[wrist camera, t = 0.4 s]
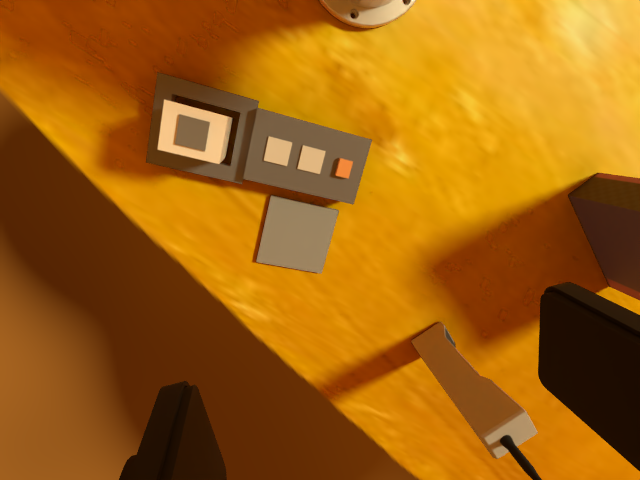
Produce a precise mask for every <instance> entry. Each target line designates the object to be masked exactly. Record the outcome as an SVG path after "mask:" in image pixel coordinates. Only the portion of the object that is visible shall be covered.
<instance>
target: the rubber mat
mask: <svg viewBox="0 0 640 480" xmlns="http://www.w3.org/2000/svg"><path fill="white" fill-rule="evenodd" d="M338 212H339V211H338V210H336V209H331V208H327V207H322V206H318V205H313V204H309V203H304V202H300V201H295V200H291V199H286V198H282V197H278V196H273V195H271V197H270V201H269V206H268V210H267V214H266V219H265V223H264V228H263V232H262V237H261V241H260V246H259V250H258V255H257V259H256V262H259V263H265V264H270V265H276V266H282V267H287V268H293V269H298V270H304V271H310V272H315V273H321V274H322V270H323V266H324V263H325V259H326V255H327V252H328V248H329V245H330V241H331V237H332V234H333V230H334V226H335V223H336V219H337V216H338Z"/></svg>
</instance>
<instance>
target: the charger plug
mask: <svg viewBox="0 0 640 480" xmlns="http://www.w3.org/2000/svg"><path fill="white" fill-rule="evenodd" d="M232 122H233V118H231V117H228V116H224V115H220V114H217V113H213V112H209V111H205V110H202V109H198V108H194V107H191V106H187V105H183V104H179V103H176V102H172V101H168V100H165V99H164V105H163V112H162V120H161V127H160V134H159V142H158V149H157V150H161V151H166V152H170V153H174V154H178V155H183V156H187V157H191V158H195V159H200V160H204V161H208V162H212V163H216V164H220V163H221V162H222V160H223V159H224V158H225V157H226V154H227V149H228V143H229V138H230V133H231V127H232Z"/></svg>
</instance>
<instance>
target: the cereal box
mask: <svg viewBox="0 0 640 480" xmlns="http://www.w3.org/2000/svg"><path fill="white" fill-rule="evenodd" d="M568 197H569V199H570V201H571V204H572V206H573V208H574V210H575V212H576V215H577V217H578V219H579V221H580V223H581V226H582V228H583V230H584V232H585V234H586V237H587V239H588V241H589V243H590V245H591V248H592V250H593V252H594V254H595V256H596V258H597V261H598V263H599V265H600V267H601V269H602V272H603V274H604V276H605V278H606V280H607V283H608V285H609V287H612V288H614V289H616V290H618V291H620V292H623V293H625V294H627V295H629V296H631V297H634V298H636V299H638V300H640V178H633V177H625V176H618V175H611V174H604V173H597V174H595V175H594V176H593V177H591V178H590V179H589V180H587V181H586V182H585V183H583V184H582V185H581V186H579V187H578V188H577V189H575V190H574V191H573V192H571V193H570V194H569V195H568Z"/></svg>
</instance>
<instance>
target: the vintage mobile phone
mask: <svg viewBox="0 0 640 480" xmlns="http://www.w3.org/2000/svg"><path fill="white" fill-rule="evenodd" d="M411 343H412V344H413V346H414V347H415V349H416V350H417V352H418V353H419V355H420V356H421V358H422V359H423V361H424V362H425V363H426V365H427V366H428V368H429V369H430V370H431V372H432V373H433V375H434V376H435V377H436V379H437V380H438V382H439V383H440V384H441V386H442V387H443V389H444V390H445V391H446V393H447V394H448V396H449V397H450V398H451V400H452V401H453V402H454V404H455V405H456V407H457V408H458V409H459V411H460V412H461V414H462V415H463V416H464V418H465V419H466V421H467V422H468V423H469V425H470V426H471V428H472V429H473V430H474V432H475V433H476V434H477V436H478V437H479V439H480V440H481V441H482V443H483V444H484V446H485V447H486V448H487V450H488V451H489V453H490V454H491V455H492V457H493V458H496V459H498V458H500V457H502V456H503V455H505V454H506V453H508V452H510V453H511V454H512V456H513V457H514V458H515V460H516V461H517V462H518V463H519V465H520V466H521V467H522V469H523V470H524V471H525V472H526V473H527V474H528V475H529V476H530V477H531V478H532V479H533V480H542V479H541V478H540V477H539V475H538V474H537V472H536V471H535V469H534V467H533V466H532V465H531V464H530V462H529V461H528V460H527V459H526V457H525V456H524V455H523V454H522V453H521V451H520V450H519V449H518V448H517V446H519V445H520V444H522V443H523V442H525V441H526V440H528V439H529V438H531V437H533V436H534V435H536V434H537V433H538V432H537V430H536V428H535V427H534V425H533V423H532V421H531V419H530V418H529V416H528V414H527V412H526V411H525V410H524V409H523V408H522V407H521V406H520V405H519V404H518V403H516V402H515V401H514V400H513V399H512V398H511V397H510V396H509V395H507V394H506V393H505V392H504V391H503V390H502V389H501V388H500V387H498V386H497V385H496V384H495V383H494V382H493V381H492V380H490V379H488V378H485V377H483V376H480V375H479V374H478V372H477V371H476V370H475V369H474V368H473V367H472V366H471V365H470V364H469V362H468V361H467V360H466V359H465V358H464V357H463V356H462V355H461V354H460V352H459V351H458V350H457V349H456V347H455V342H454V341H453V339H452V337H451V336H450V334H449V332H448V331H447V329H446V327H445V326H444V324H443V323H442V322H439V323H437V324H436V325H434V326H433V327H431V328H429V329H428V330H426V331H425V332H423V333H422V334H420V335H419V336H417V337H416V338H414V339H413V340H412V341H411Z"/></svg>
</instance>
